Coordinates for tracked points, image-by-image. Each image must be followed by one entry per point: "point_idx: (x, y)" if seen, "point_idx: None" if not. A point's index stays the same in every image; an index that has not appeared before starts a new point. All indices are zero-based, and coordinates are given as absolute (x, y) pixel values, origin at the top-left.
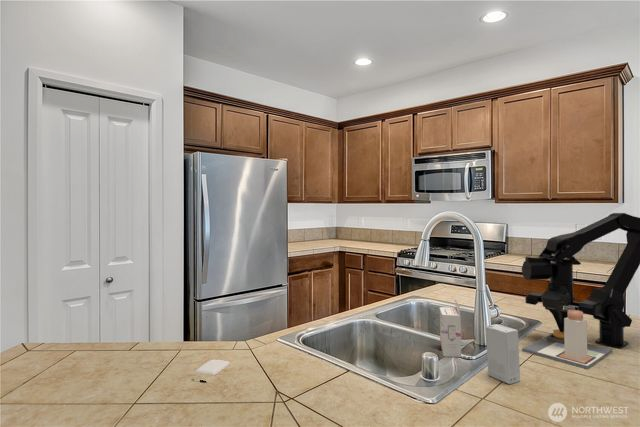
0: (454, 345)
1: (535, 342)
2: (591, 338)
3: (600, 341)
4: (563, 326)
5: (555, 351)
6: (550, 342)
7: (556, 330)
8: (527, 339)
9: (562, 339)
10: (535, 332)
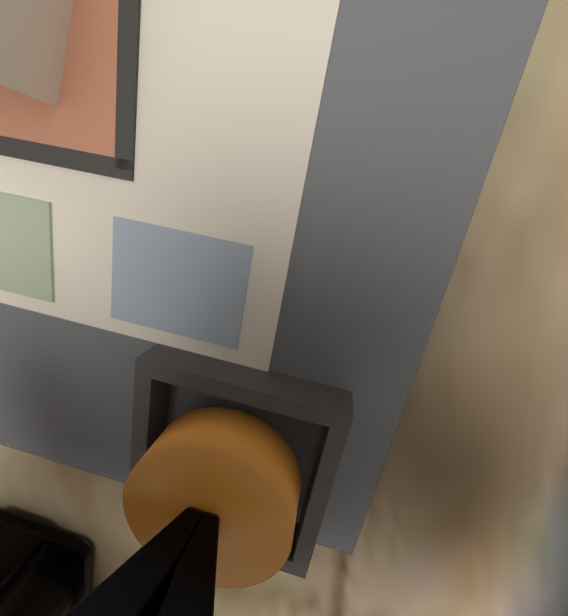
0: None
1: (448, 246)
2: None
3: (58, 556)
4: (128, 571)
5: (198, 36)
6: (309, 344)
7: (263, 543)
8: (537, 388)
9: None
10: (479, 605)
